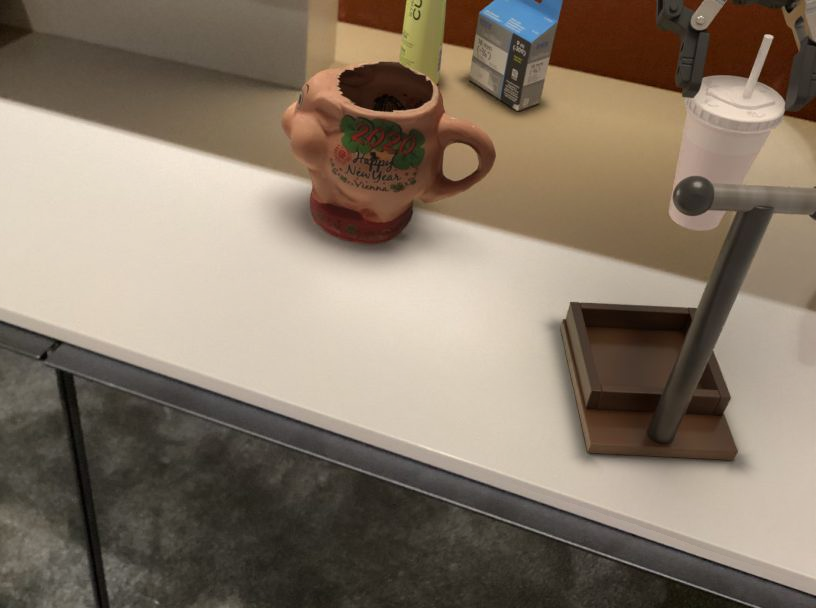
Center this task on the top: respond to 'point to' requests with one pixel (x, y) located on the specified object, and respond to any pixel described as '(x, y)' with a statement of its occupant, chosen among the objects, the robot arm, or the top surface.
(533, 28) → the blue grey carton
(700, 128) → the smoothie
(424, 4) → the tube
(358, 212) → the pink novelty mug
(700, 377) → the jewelry holder
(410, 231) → the top surface
